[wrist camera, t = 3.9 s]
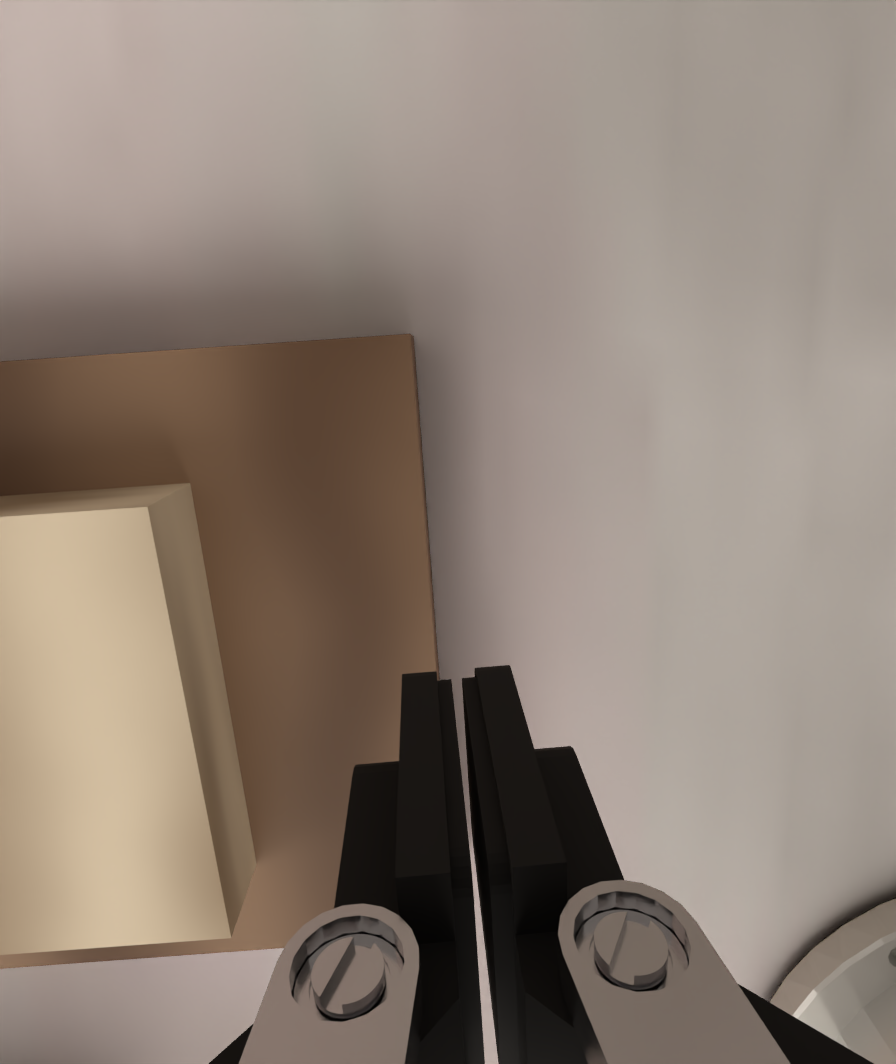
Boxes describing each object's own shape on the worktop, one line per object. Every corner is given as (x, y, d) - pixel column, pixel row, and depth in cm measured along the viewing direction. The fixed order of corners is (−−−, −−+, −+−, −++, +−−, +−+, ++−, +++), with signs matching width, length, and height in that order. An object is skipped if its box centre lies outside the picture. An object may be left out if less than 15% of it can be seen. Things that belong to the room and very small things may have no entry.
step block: (413, 336, 15) (410, 334, 12) (453, 858, 18) (456, 934, 16) (-312, 385, 14) (-460, 392, 12) (-122, 899, 18) (-206, 983, 16)
